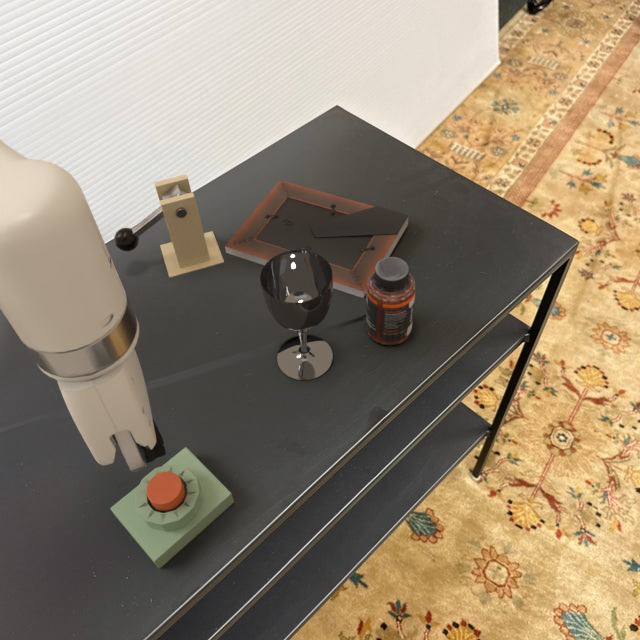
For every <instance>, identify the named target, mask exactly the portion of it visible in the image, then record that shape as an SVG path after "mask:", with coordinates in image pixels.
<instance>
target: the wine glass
mask: <svg viewBox="0 0 640 640" xmlns="http://www.w3.org/2000/svg"><path fill="white" fill-rule="evenodd" d="M259 278H260V279H259V280H260V288H261V292H262V296H263V300H264V303H265V306H266V308H267V310H268V313H269V314H270V315H271V318H273V320H274V321H275V322H276V323H277V324H278V325H279V326H281V327H282V328H284V329H286V330H289V331H293V332H296V334H297V336H294V337H291V338H289V339H288V340H286V341H285V342H284V343H283V344H282V345H281V346H280V348H279V349H278V351H277V356H276V363H277V366H278V368H279V370H280V371H281V373H283V374H284V375H285V376H287V377H288V378H290V379H292V380H296V381H311V380H315V379H318V378H320V377H322V376H323V375H324V374H325V373H327V372H328V371H329V369H330V368H331V366H332V365H333V361H334V353H333V350H332V348H331V346H330V344H329V343H328V342H327V341H325V339H322V338H320V337H318V336H316V335H311V334H308V331H309V330H312V329H314V328H316V327H317V326H318V325H320V324H321V323H322V322H323V321H324V320H325V319H326V317H327V315H328V313H329V310H330V307H331V305H332V300H333V294H334V288H333V274H332V269H331V266H330V264H329V263H328V262H327V261H326V260H325V259H324V258H323V257H322V256H320V255H318V254H316V253H313V252H310V251H305V250H293V251H287V252H284V253H281V254H279V255H277V256H275V257H273V258H272V259H270V260H269V261H268V262H267V263H266V264H265V266H264V265H263V267H262V269H261V272H260V275H259Z"/></svg>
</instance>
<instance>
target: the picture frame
mask: <svg viewBox="0 0 640 640" xmlns="http://www.w3.org/2000/svg"><path fill="white" fill-rule="evenodd" d="M408 226H409V214H406V213H402V212H400V211H395V210H392V209H389V208H385V207H381V206H378V205H375V206H374V205H372V204H371V205H370V204H368V203H365V202H360V201H357V200H353V199H351V198H350V199H349V198H347V197H343V196H338V195H335V194H332V193H328V192H325V191H321V190H318V189H314V188H310V187H308V186H304V185H300V184H296V183H294V182H289V181H286V180H282V179H279V180H278V181H277V182H276V183H275V185H273V187H272V188H271V189H270V191H269V192H268V193H267V194H266V196H265V197H264V198H263V200H261V202H260V203H259V204H258V205H257V206H256V208H255V209H254V210H253V211H252V213H251V214H250V215H249V217H247V218H246V220H245V221H244V222H243V224H241V226H240V227H239V229H238V230H237V231H236V232H235V233H234V234H233V236H231V238H230V239H229V240H228V242H226V244H225V245H224V249H225V253H226V254H228V255H232V256H234V257H237V258H240V259H243V260H247V261H250V262H252V263H255V264H259V265H261V266H263V267H264V266H265V264H266V263H267V262H268V261H269V260H270V259H272V258H273V257H275V256H277V255H279V254H281V253H284V252H287V251H293V250H305V251H310V252H313V253H316V254H318V255H320V256H322V257H323V258H324V259H325V260H326V261H327V262H328V263H329V264H330V266H331V269H332V274H333V290H336V291H337V290H338V291H340V292H343V293H346V294H350V295H353V296H356V297H359V298H362V299H364V297H365V296H366V292H367V281H368V279H369V277H370V275H371V274H372V273H373V272H375V266H376V264H377V263H378V262H379V261H380V260H381V259H384V258H387V257H391V255H392V253H393V251H394V249H395V248H396V246H397V245H398V243H399V241H400V239H401V238H402V236H403V234H404V233H405V231H406V229H407V227H408Z"/></svg>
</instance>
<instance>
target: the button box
mask: <svg viewBox="0 0 640 640" xmlns="http://www.w3.org/2000/svg"><path fill="white" fill-rule="evenodd" d="M161 472H173V473H175V474H177V475H178V476H179V477H180V479H181V481H182V483H183V485H184V488H185V496H184V499H183V501H182V502H181V504H180V505H179V506H178V507H176V508H175V509H173V510H170V511H160V510H158V509H156V508H155V507H154V506H153V505H152V504H151V502H150V500H149V498H148V496H147V493H146V490H147V485H148V483H149V481H150V480H151V479H152V478H153V477H154V476H155V475H157V474H159V473H161ZM234 503H235V499H234V497H233V493H232V492H231V491H230V490H229V489H228V488H227V487H226V486H225V485H224V484H223V483H222V482H221V481H220V480H219V479H218V478H217V477H216V476H215V474H214V473H212V472H211V471H210V470H209V469H208V468H207V466H205V464H204V463H202V462H201V461H200V459H198V457H196V455H195V454H193V453H192V452H191V450H190V449H189V448H187V447H186V446H185V447H184V448H183V449H181V450H180V451H178V452H177V453H176V454H175V455H174V456H172V457H171V458H169V460H167V461H166V462H165V463H164V464H163V465H162V466H158V467H154V469H152V470H151V471H150V472H148V474H146V475H145V476H144V477H142V479H141V481H140V483H139V484H138V485H137V486H135V487H134V488H133V489H132V490H130V491H129V492H128V493H127V494H126V495H124V496H123V497H122V498H120V500H118V501H117V502H116V503H115V504H113V505H112V506H111V507H110V511H111V512H112V513H113V515H114V516H115V518H116V519H117V520H118V521H119V522H120V524H121V525H122V526H123V527H124V528H125V530H126V531H127V532H128V533H129V535H130V536H131V537H132V538H133V539H134V540H135V542H136V543H137V545H139V547H140V548H141V549H142V550H143V552H144V553H145V554H146V555H147V556H148V558H149V559H150V560H151V561H152V562H153V563H154V565H155V566H156V568H158V569H159V570H160V569H162V568H163V567H164V566H165V564H167V563H169V561H170V560H171V559H172V558H173V557H174V556H176V555H177V554H178V553H179V552H181V550H183V549H184V548H185V547H186V546H187V545H188V544H189V543H191V541H193V540H194V539H195V538H196V537H197V536H198V535H199V534H200V533H202V532H203V531H204V530H205V529H206V528H207V527H208V526H209V525H210V524H211V523H213V522H214V521H215V520H216V519H217V518H218V517H219V516H221V515H222V514H223V513H224V512H225V511H227V509H228V508H230V507H231V506H232V505H233V504H234Z"/></svg>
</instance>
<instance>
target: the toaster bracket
mask: <svg viewBox="0 0 640 640" xmlns="http://www.w3.org/2000/svg"><path fill="white" fill-rule="evenodd" d="M153 184H154V187H155V190H156V193H157V197H158V200H159V203H160V206H161V207H162V210H163V213H164V217H163V218H164V220H165V224H166V227H167V230H168V233H169V237H170V242H167V243H163V244H160V245H159V247H160V250H161V254H162V257H163V261H164V264H165V268H166V272H167V274H168V278H169V279H171V278H175V277H179V276H182V275H186V274H189V273H192V272H196V271H199V270H203V269H207V268H210V267H213V266H217V265H221V264H225V260H224V257H223V254H222V251H221V249H220V246H219V243H218V241H217V238H216V236H215V233H214V231H213V230H211V231H208V232H204V228H203V225H202V220H201V216H200V213H199V209H198V205H197V201H196V197H195V193H194V192H193V191H192V188H191V185H190V181H189V178H188V175H187V174H183V175H178V176H174V177H170V178H167V179H162V180H159V181H154V182H153ZM177 184H178V185H179V186H180V187H181V188H183V189H184V190H185V191H186V192H187V194H184V195H180V196H176V197H172V198H168V199H164V200H163V199H162V196H163V195H164V194H165V193H167V192H168V191H169V190H170V189H172V188H173V187H174V186H175V185H177Z"/></svg>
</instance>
